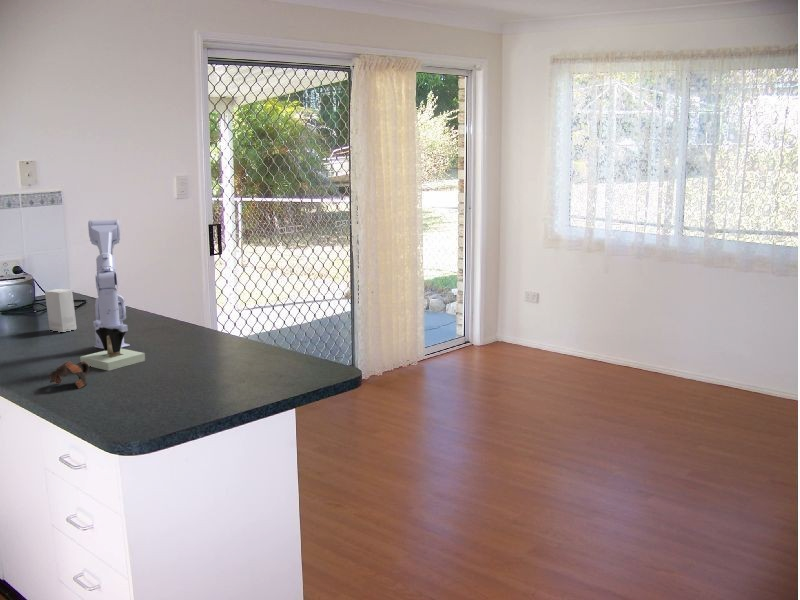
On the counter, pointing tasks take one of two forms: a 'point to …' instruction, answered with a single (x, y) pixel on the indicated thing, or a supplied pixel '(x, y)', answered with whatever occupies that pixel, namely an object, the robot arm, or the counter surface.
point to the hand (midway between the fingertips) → (112, 351)
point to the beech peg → (110, 350)
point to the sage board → (113, 359)
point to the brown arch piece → (74, 369)
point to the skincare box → (60, 310)
